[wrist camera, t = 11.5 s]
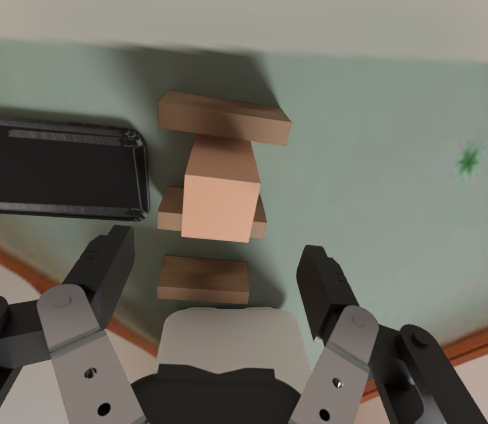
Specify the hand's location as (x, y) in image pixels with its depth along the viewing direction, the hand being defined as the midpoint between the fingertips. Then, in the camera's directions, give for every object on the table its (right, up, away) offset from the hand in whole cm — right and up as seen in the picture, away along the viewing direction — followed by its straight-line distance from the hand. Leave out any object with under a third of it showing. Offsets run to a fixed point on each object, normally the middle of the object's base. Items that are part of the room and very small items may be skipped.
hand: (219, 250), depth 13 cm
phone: (-14, +5, +9) cm, 18 cm away
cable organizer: (0, -13, +21) cm, 25 cm away
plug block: (-1, +6, +9) cm, 11 cm away
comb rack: (-1, +3, +11) cm, 12 cm away
